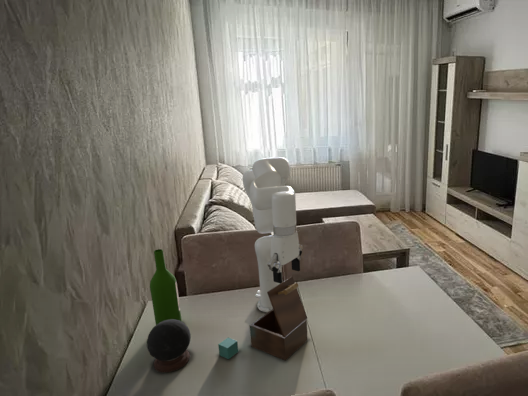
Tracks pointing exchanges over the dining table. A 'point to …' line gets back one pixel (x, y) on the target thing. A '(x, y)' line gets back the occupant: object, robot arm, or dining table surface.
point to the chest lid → (287, 305)
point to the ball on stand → (169, 345)
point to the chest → (276, 336)
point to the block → (228, 348)
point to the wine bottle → (164, 292)
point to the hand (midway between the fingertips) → (287, 276)
